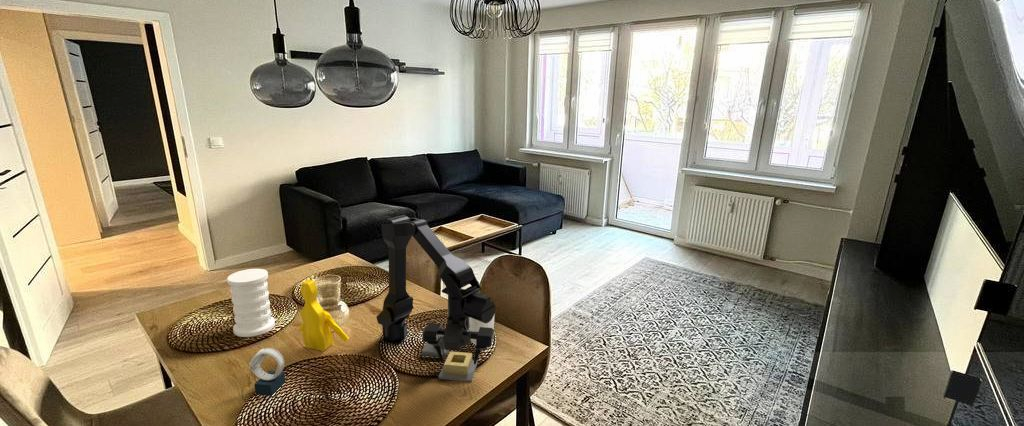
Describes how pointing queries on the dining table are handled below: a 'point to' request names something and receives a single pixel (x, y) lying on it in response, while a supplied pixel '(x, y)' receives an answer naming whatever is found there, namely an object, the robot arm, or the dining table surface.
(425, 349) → the grey peg base
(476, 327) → the white cup
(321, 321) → the figure statuette
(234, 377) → the dining table surface
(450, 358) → the square hollow block
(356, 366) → the dining table surface
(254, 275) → the decorative container
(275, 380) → the white ring sculpture
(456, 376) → the felt coaster
